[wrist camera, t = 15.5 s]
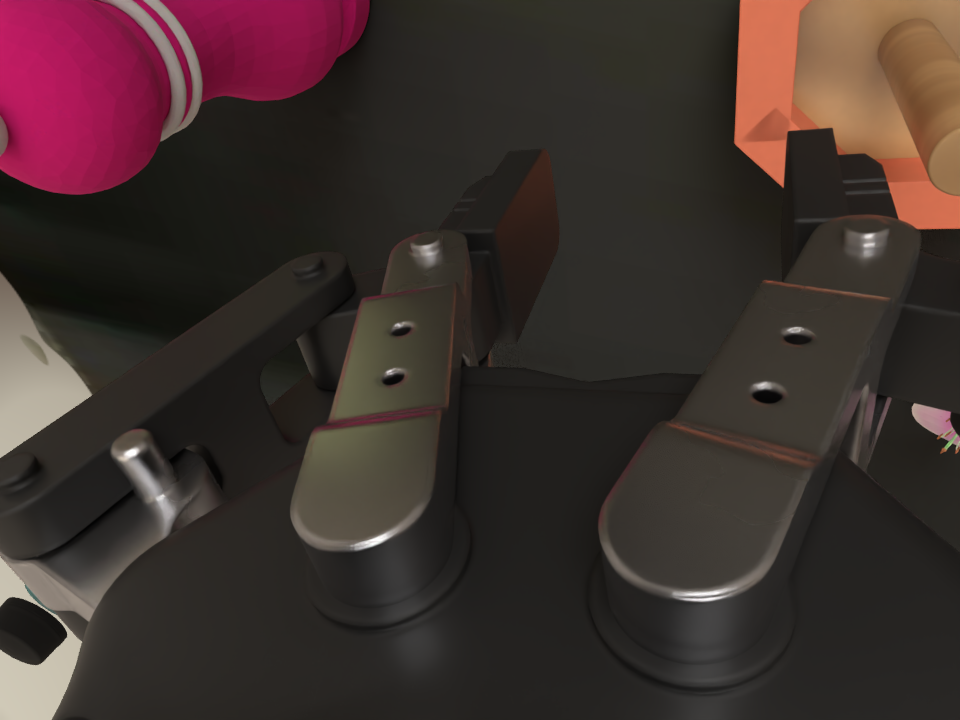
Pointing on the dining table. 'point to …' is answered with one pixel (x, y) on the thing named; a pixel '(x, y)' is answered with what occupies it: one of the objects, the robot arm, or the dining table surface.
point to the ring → (771, 114)
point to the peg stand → (885, 79)
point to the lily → (937, 423)
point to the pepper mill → (146, 75)
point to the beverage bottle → (29, 630)
